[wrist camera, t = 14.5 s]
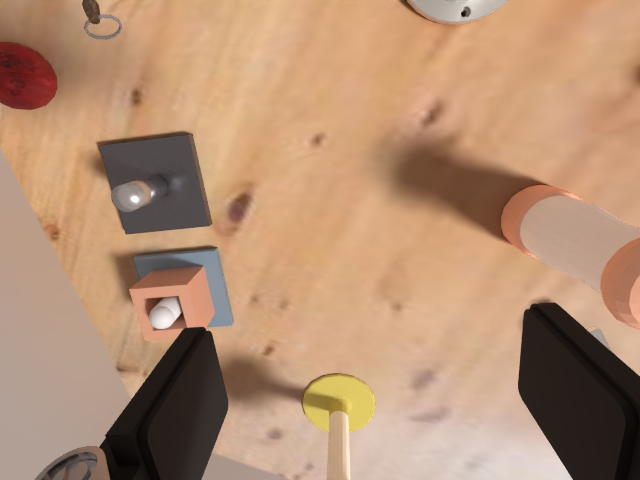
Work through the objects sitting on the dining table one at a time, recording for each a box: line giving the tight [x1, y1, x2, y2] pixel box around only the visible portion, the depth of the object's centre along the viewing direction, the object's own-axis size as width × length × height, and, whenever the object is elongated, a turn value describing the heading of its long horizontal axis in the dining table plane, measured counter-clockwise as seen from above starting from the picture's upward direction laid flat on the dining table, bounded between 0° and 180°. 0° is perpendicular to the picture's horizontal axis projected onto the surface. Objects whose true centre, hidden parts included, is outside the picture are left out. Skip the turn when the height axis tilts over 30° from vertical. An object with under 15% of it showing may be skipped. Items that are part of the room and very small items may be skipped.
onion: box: [0, 42, 57, 110], centre depth 34 cm, size 6×6×8 cm
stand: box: [99, 134, 212, 234], centre depth 37 cm, size 10×10×7 cm
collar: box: [129, 266, 215, 341], centre depth 41 cm, size 6×6×5 cm
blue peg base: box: [133, 248, 234, 329], centre depth 41 cm, size 10×10×8 cm
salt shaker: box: [501, 185, 640, 330], centre depth 30 cm, size 7×7×19 cm
